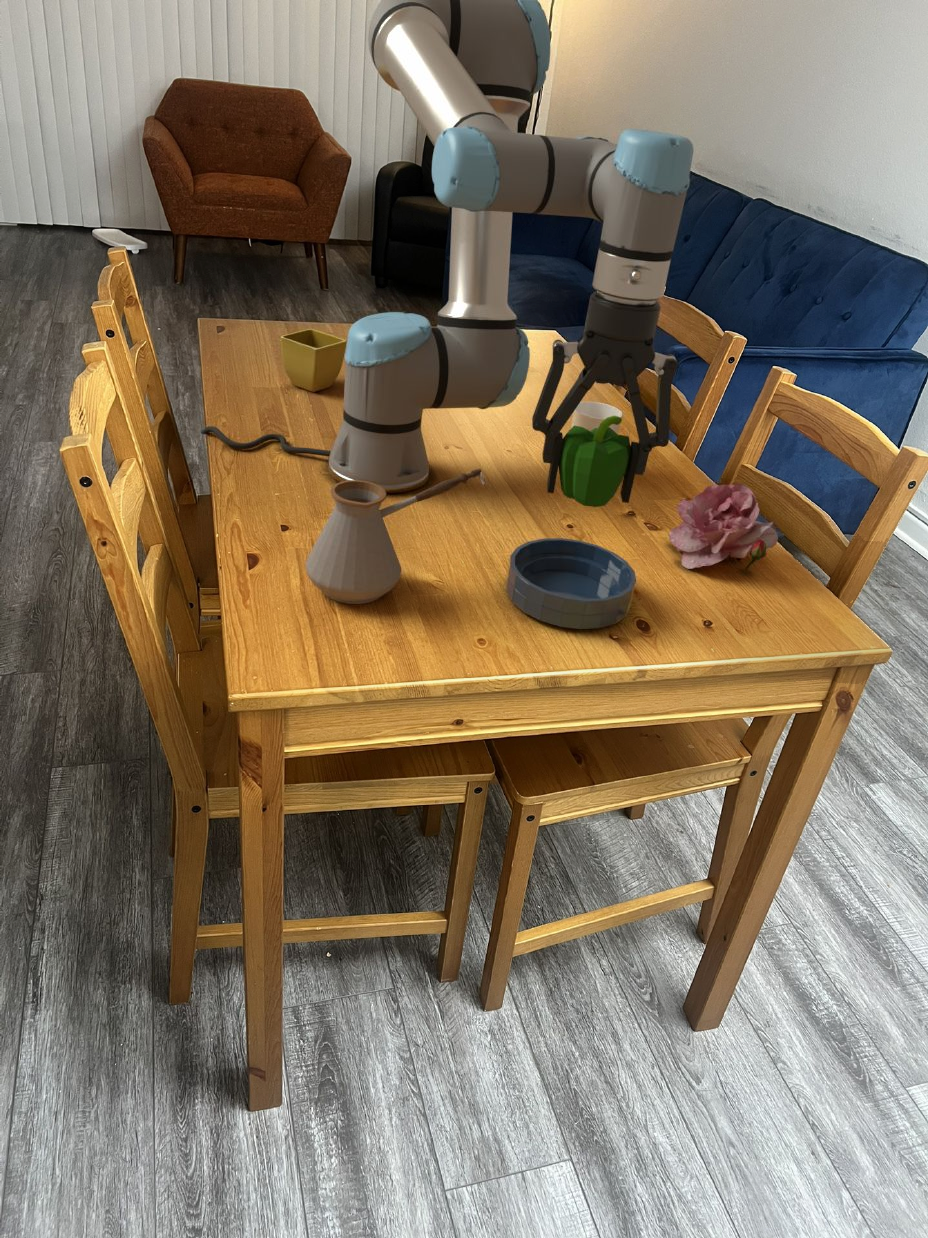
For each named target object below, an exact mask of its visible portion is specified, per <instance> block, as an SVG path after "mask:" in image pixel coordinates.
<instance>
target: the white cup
mask: <svg viewBox="0 0 928 1238" xmlns="http://www.w3.org/2000/svg"><path fill="white" fill-rule="evenodd" d="M623 413H624V412H622V410H621V409H619V408H618V407H616V406H613V405H611V404H607V403H603V402H598V401H581V402H580V403H579V405H578V406H577V408H576V409H575V410H574V412H573V413H572V416H571V417H572V418H571V424H570V429H571V428H572V427H573V426H579V427H583V428H585V429H587V430H589V431H591V430H593V429H595V428H599V425H600V423H601V422H602V421H604V420H605V419H606V418H607V417H611V416H618V417H620V418H621V419H622V420H623V415H624V414H623ZM620 426H621V423H620V424H618V425H615V424H611V425H610V426H609V427H610V428H611V429H612V430H613V431H614V432H616V433H617V434H618V435H619V431H620Z"/></svg>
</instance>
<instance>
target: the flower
mask: <svg viewBox="0 0 928 1238" xmlns="http://www.w3.org/2000/svg"><path fill="white" fill-rule="evenodd" d="M676 506H677V507H676V510H677V512H678V515H679V517H680V519H681V521H682V522H681V524H679V525H678V526H677V527H675V528H673V529H671V530H670V531H669V533H668V537H669V542H670V543H671V544H672V546H674V547H676V549H677V550H676V551H678V552H682V556H681V559H680V563H681V566H682V567H684V568H685V569H687V570H689V569H692V570H693V569H696V568H697V569H700V568H702V567H703V566H704V567H710V566H713V565H715V564H718V563H720V562H722V561H723V560H725V559H726V558H728V557H729V556H730V557H732V558H736V559H744V558H745V559H746V557H747V556H748V555H749V556H751V560H750V561H749V562H748V564H747V566H746V567H745V570H744V573H746V572H747V571H748V569H750V567H751V566H752V565H753V564H754V563H755V562H756V561H759V560H761V559H762V558H764V557H766V556H767V550H768V549H769V550H770V549H774V547H775V546H776V545H777V543H778V541H779V535H778V532H777V530H775V529H774V528H773V527H772V526H774V524H775V521H770V522H764V523H763V522H761V521H759V520H757V519H758V518H759V515H760V510H761V509H760V508H759V502H758V500H757V497H756V495H755V493H754V492H753V491H752V489H751V488H749V487H748V486H746V485H745V484H742V483H739V484H721V485H719V484H712V485H708V486H706V487H705V489H704V490H703V491H702V492H700V493H697V495H695V496H693V497H692V499H691V500H688V499H684V498H682V499H681V502H680V503H679V504H677V505H676Z"/></svg>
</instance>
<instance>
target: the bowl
mask: <svg viewBox="0 0 928 1238" xmlns="http://www.w3.org/2000/svg"><path fill="white" fill-rule="evenodd" d="M507 568H508V569H507V575H506V581H505V593H506V595H507V596H508V598H509V600H510V602H511V603H512V604H513V605H515V606H516V607H517V608H518V609H519V610H520V611H521V612H523V613H524V614H526V615H528V616H530V617H532V618H534V619H536V620H537V621H540V622H544V623H547V624H551V625H554V626H557V627H560V628H566V629H567V628H568V629H577V630H590V629H591V630H592V629H601V628H605V627H609V626H612V625H616V624H617V623H619V622H620V621H622V620H623V619H624V618H626V617H627V615H628V613H629V611H630V608H631V605H632V602H633V597H634V593H635V588H636V585H637V576H636V572H635V570H634V569H633V567H632V566H631V565H630V564H629V562H628V561H627V560H626V559H624V558H623V557H621V556H619V555H618V554H617V553H616V552H613V551H611V550H609V549H607V548H604V547H602V546H600V545H598V544H594V543H591V542H587V541H583V540H579V539H571V538H563V537H552V538H551V537H549V538H548V537H547V538H545V537H544V538H539V539H534V540H529V541H526V542H524V543H523V544H522V543H521V545H519V546H516V548H515V549H514V550H513V552H511V554H510V555H509V562H508V567H507Z"/></svg>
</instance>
